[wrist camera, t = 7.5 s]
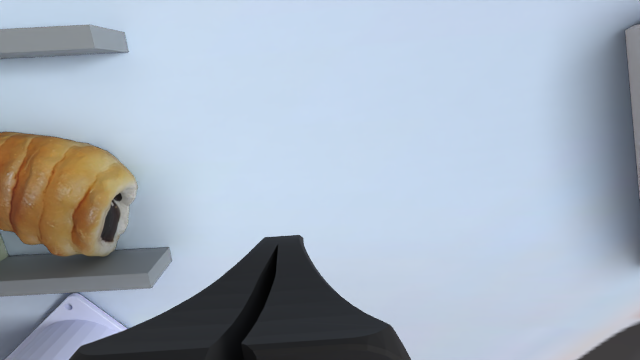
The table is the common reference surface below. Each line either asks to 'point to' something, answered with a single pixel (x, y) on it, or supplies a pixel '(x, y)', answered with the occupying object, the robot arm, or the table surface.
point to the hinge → (634, 85)
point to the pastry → (63, 194)
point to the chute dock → (76, 270)
